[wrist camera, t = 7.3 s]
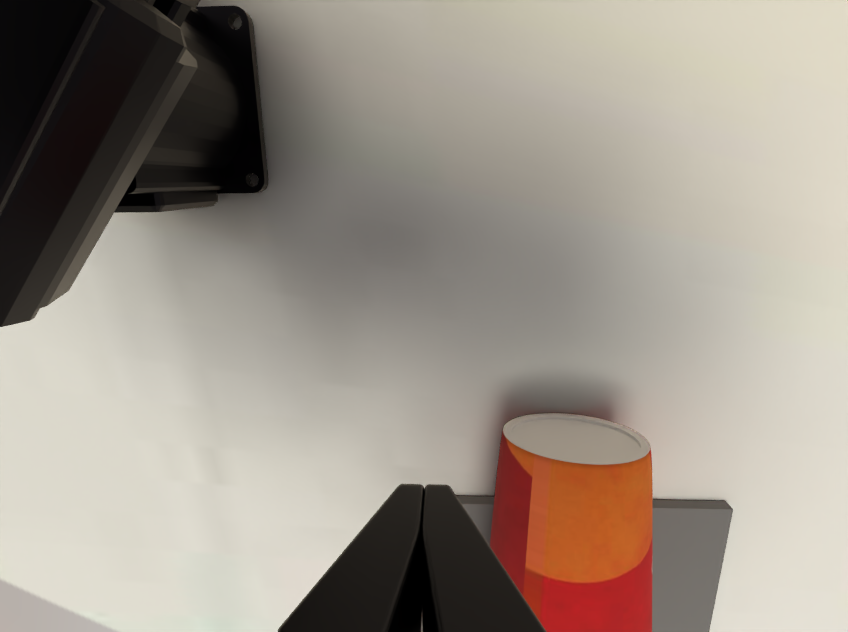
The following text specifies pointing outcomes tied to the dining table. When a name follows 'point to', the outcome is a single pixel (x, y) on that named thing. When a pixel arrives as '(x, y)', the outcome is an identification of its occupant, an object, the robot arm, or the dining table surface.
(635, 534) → the paper cup
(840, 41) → the dining table surface
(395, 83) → the dining table surface
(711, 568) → the mat
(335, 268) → the dining table surface
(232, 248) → the dining table surface
